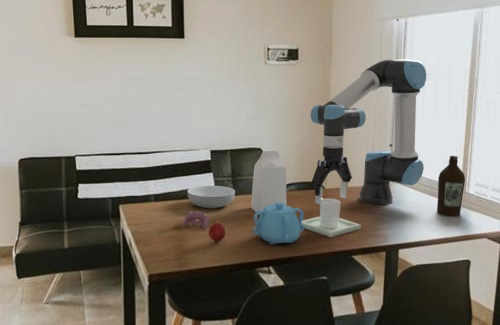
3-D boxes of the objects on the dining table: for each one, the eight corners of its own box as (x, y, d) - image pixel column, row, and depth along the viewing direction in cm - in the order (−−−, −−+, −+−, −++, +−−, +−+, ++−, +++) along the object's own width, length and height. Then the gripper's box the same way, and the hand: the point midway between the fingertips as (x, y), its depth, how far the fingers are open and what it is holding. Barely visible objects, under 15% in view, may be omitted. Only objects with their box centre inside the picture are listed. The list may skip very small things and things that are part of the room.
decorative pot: (309, 238, 197) (310, 202, 195) (286, 250, 184) (287, 212, 182) (271, 230, 207) (272, 195, 204) (247, 240, 194) (248, 203, 191)
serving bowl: (242, 203, 243) (243, 188, 242) (220, 215, 225) (221, 198, 223) (202, 197, 252) (202, 183, 250) (178, 208, 233) (177, 192, 232)
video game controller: (209, 231, 208) (212, 213, 209) (205, 229, 204) (208, 211, 205) (185, 228, 211) (188, 211, 212) (180, 226, 206) (184, 208, 208)
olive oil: (432, 209, 239) (437, 153, 235) (457, 210, 239) (462, 154, 234) (439, 216, 229) (444, 158, 224) (465, 217, 228) (470, 159, 224)
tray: (328, 218, 222) (328, 214, 222) (360, 229, 209) (360, 224, 209) (298, 225, 212) (298, 221, 211) (330, 237, 199) (330, 232, 198)
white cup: (338, 229, 206) (340, 204, 204) (318, 228, 207) (319, 202, 206) (339, 223, 214) (341, 199, 212) (319, 222, 215) (320, 197, 213)
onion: (208, 240, 193) (208, 218, 192) (224, 239, 194) (225, 218, 192) (208, 245, 188) (208, 223, 186) (225, 245, 188) (225, 223, 187)
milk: (276, 205, 240) (278, 147, 235) (286, 212, 229) (288, 152, 224) (250, 207, 236) (252, 148, 231) (259, 214, 226) (261, 153, 221)
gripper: (317, 151, 194) (315, 208, 198) (362, 144, 209) (359, 197, 214) (302, 148, 200) (300, 203, 204) (347, 141, 215) (345, 193, 219)
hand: (331, 200), depth 209 cm, fingers open, 13 cm apart
